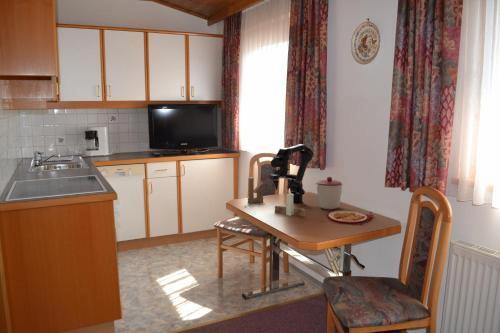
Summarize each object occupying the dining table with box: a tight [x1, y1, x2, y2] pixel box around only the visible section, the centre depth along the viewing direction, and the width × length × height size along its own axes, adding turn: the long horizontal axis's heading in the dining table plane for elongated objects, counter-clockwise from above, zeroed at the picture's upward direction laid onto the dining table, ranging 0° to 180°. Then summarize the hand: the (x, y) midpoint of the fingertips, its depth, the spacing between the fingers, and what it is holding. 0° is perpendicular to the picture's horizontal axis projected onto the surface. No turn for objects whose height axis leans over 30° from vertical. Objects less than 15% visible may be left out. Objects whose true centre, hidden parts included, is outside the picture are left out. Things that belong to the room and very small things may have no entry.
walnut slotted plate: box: [274, 205, 306, 218], centre depth 255 cm, size 20×2×4 cm, turn 62°
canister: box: [315, 176, 344, 210], centre depth 270 cm, size 18×18×21 cm
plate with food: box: [320, 209, 374, 227], centre depth 245 cm, size 25×26×4 cm
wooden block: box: [247, 177, 264, 204], centre depth 287 cm, size 4×11×18 cm, turn 116°
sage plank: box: [285, 193, 294, 216], centre depth 254 cm, size 4×3×13 cm
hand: (282, 189), depth 274 cm, fingers open, 9 cm apart
